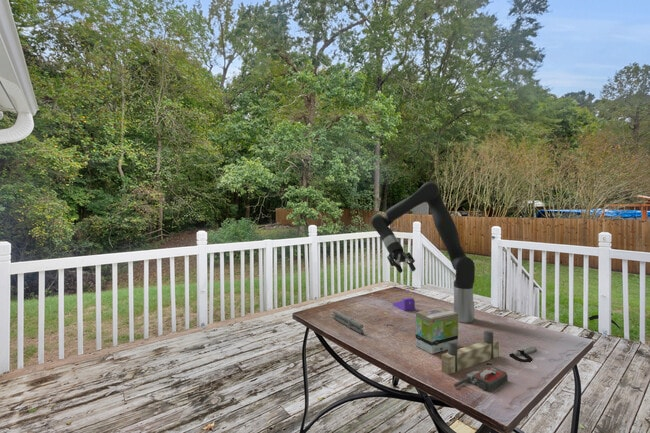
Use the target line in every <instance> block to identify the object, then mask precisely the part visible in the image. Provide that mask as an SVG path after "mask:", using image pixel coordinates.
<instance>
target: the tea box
mask: <svg viewBox="0 0 650 433" xmlns="http://www.w3.org/2000/svg"><path fill="white" fill-rule="evenodd" d="M448 341H455V342H457V348H459V347H458V346H459V321H458V313H456V312H454V310H450V309H447V308H444V307H441V306H440V307H436V308H435V307H434V308H431V309H426V310H420V311H416V312H415V346H416V347H418V348H420V349H422V350H423V351H425V352H427V353H429V354H431V355H434V354H437V353H439V352H443V351H448Z"/></svg>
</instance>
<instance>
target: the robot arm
mask: <svg viewBox="0 0 650 433" xmlns="http://www.w3.org/2000/svg"><path fill="white" fill-rule="evenodd" d="M441 194H442V193H441V192H440V187H439V185H438V184H437V183H436V182H434V181H427V182H424V183H423V184H422V185H421V186H420V187H419V188H418V189H417V190H416V191H415V192H414V193H413V194H411V195H410V196H408V197H407V198H405V199H403V200H401V201H399V202H397V203H395V204H394V205H392V206H391V207H389V208H388V209H387V210H386V211H385V215H384V216H382V215H381V214H378V213H376V214H374V215H372V216H371V219H370V224H371V226H372V227H373V229H374V230H375V231H376V233H377V234H378V235H379V236H380V239H381V240H382V242H383V244H384V247H385V249H386V250H387V252H388V255H387V257H386V258H387V260H388V262H389V264H390V266H391V267H395V268H396V270H397V271H398V273H399V274H401V273H403V272H404V271H403V268H402V266H401V264H400V263H404V264H407V265H408V267H409V268H410V270H411V271H412V272H415V271H416V267H415V264H414V263H415V262H416V260H415V258H414V257H413V255H412V254H411V253H410V252H407V253H405V252H404V247H403V246H402V244H401V242H400V241H399V239H398V238H397V236H396V235H395V233H394V232H393V230H392V229H391V228H390V226H391V224H392V223H394V222H395V221H396V220H397V219H399V218H401V217H402V216H404V215H405V214H407V213H408V212H410V211H412V210H413V209H414V208H416V207H418V206H419V205H421V204H424V203H427V205H428V207H429V209H430V212H431V215H432V220H433V224H434V226H435V228H436V231H437V232H438V236H439V237H440V239H441V241H442V243H443V245H444V247H445V249H446V250H447V253H448V256H449V259H450V262H451V266H452V268H453V269H454V271H455V279H454V281H453V312H456V313H458V323H465V324H466V323H467V324H469V323H473V322H474V321H475V301H474V284H475V276H476V275H475V274H476V267H475V262H474V260H473V259H472V258H470V257H468V256H467V255H466V253H465V251H464V250H463V247H462V245H461V242H460V236H459V232H458V228H457V226H456V222H454V219H453V217H452V215H451V214H450V212H449V210H448V209H447V207H446V205H445V202H444V200H443V197H442V195H441Z"/></svg>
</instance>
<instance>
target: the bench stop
mask: <svg viewBox="0 0 650 433" xmlns="http://www.w3.org/2000/svg"><path fill="white" fill-rule="evenodd" d="M499 356H500V341H499V340H497V339H494V331H493V330H489V329H488V330H484V331H483V340H482V341H480V342H476V343H473V344H470V345H468V346H464V347H461V348H458V347H457V342H455V341H448V350H447V352H445V353H442V354H441V372H444V373H445V374H447V375H451V374H454V373H457V372H460V371H463V370H465V369H468V368H470V367H473V366H476V365H479V364H482V363H484V362H487V361H490V360H494V359H495V358H498V357H499Z"/></svg>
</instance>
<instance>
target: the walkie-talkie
mask: <svg viewBox="0 0 650 433" xmlns="http://www.w3.org/2000/svg"><path fill="white" fill-rule="evenodd" d="M467 382H469V383H471V384H472V385H475V386H477V387H479V388H480V389H482V390H484V391H487V392H492V391H494V390H495V389H497V388H499V387H500V386H502V385H504V384H506V383H507V382H508V373H507V372H506V371H504V370H502V369H499V368H496V367H495V366H490V367H487V368H485V369H483V370H481V371H479V370H473V371H471V372H469V373H467V374H466V375H465V377H464V378H462V379H461V380H459V381H456V382H455V383H454V384H453V386H454V387H455V388H457V387H459V386H461V385H463V384H464V383H467Z"/></svg>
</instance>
